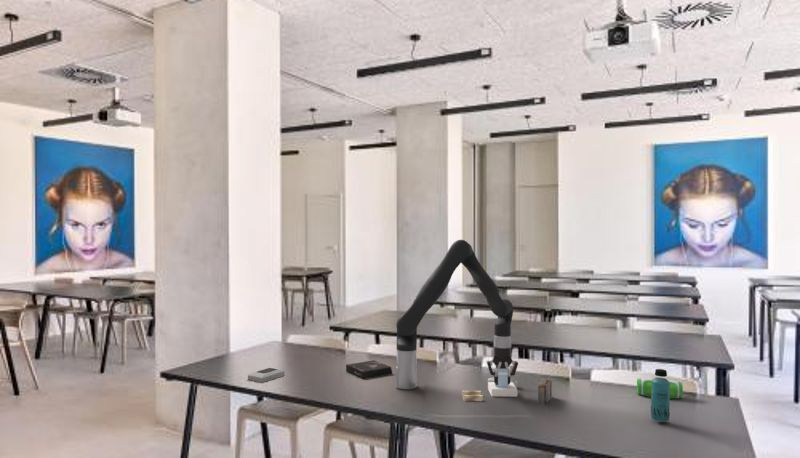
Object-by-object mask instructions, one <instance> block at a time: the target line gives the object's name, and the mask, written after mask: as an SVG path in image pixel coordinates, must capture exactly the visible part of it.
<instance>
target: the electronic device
mask: <svg viewBox="0 0 800 458" xmlns="http://www.w3.org/2000/svg"><path fill="white" fill-rule="evenodd" d="M512 368H513V365H510V366H509V370H510V372H511V371H512ZM514 377H515V375H512V376H511V377H510V382H513V384H514V385H515V387H516V388H517V389H518V387H519V383H518V381H516V379H515V378H514ZM488 382H494V376H493V377H489V378H487V383H488Z"/></svg>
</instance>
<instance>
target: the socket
mask: <svg viewBox="0 0 800 458" xmlns="http://www.w3.org/2000/svg"><path fill="white" fill-rule="evenodd" d="M487 390H488V391H489V394H490V396H491V397H505V398H506V397H512V398H513V397H516V398H517V397H518V387H517V388H516V387H515V385H514V384H513V382H510V384H509V385H508V388H497V385H496V384H495V383H494V382H488V381H487Z"/></svg>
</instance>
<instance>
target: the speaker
mask: <svg viewBox="0 0 800 458" xmlns="http://www.w3.org/2000/svg"><path fill="white" fill-rule="evenodd" d="M653 379H654V378H648V377H647V378H646V377H640V378H637V380H636V393H637V394H638V395H640V396H645V397H652V380H653ZM667 380H668V381H669V382H670V399H682V398H683V397H684V390H683V388H684V387H683V382H681V381H678V380H673V379H672V380H671V379H670V380H669V379H667Z"/></svg>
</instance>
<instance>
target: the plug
mask: <svg viewBox="0 0 800 458" xmlns="http://www.w3.org/2000/svg"><path fill="white" fill-rule="evenodd" d="M497 376H498V385H497V388H508V369H506V368H500V369H498V375H497Z"/></svg>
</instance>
